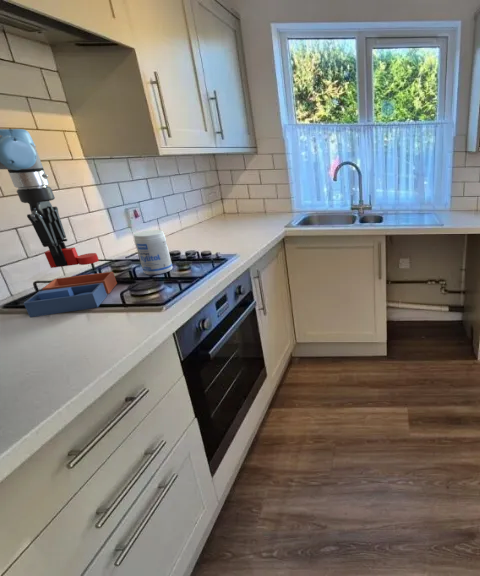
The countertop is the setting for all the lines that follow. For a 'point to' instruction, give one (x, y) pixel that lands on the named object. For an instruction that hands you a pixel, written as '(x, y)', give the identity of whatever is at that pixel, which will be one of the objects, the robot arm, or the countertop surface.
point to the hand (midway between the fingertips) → (64, 264)
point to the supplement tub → (153, 252)
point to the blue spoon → (57, 293)
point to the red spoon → (73, 257)
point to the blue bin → (67, 301)
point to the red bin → (84, 281)
